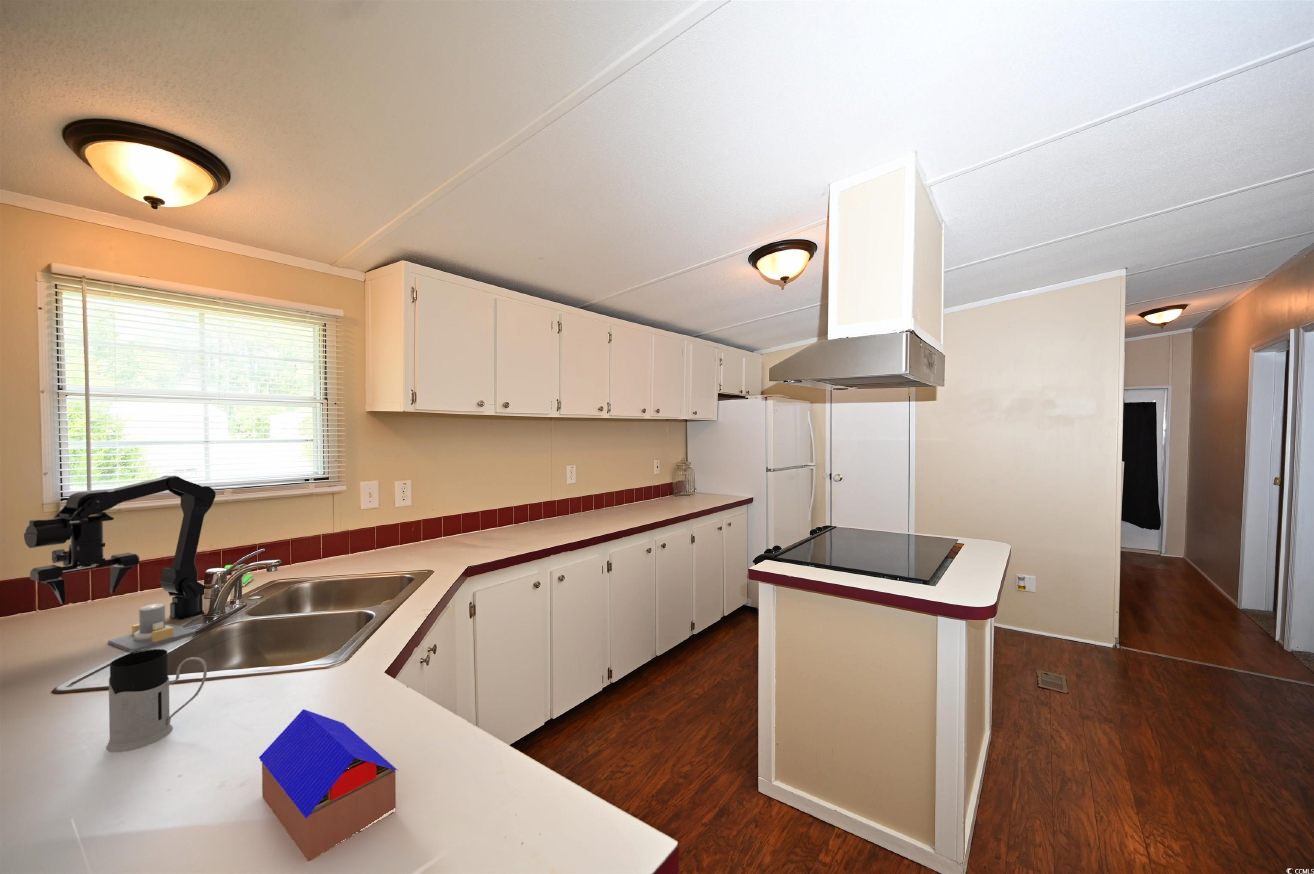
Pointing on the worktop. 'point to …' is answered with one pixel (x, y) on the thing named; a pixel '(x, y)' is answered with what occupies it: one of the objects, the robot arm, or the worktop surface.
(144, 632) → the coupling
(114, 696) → the glass holder
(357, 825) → the house
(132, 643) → the board
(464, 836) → the worktop surface
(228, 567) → the mechanical part
